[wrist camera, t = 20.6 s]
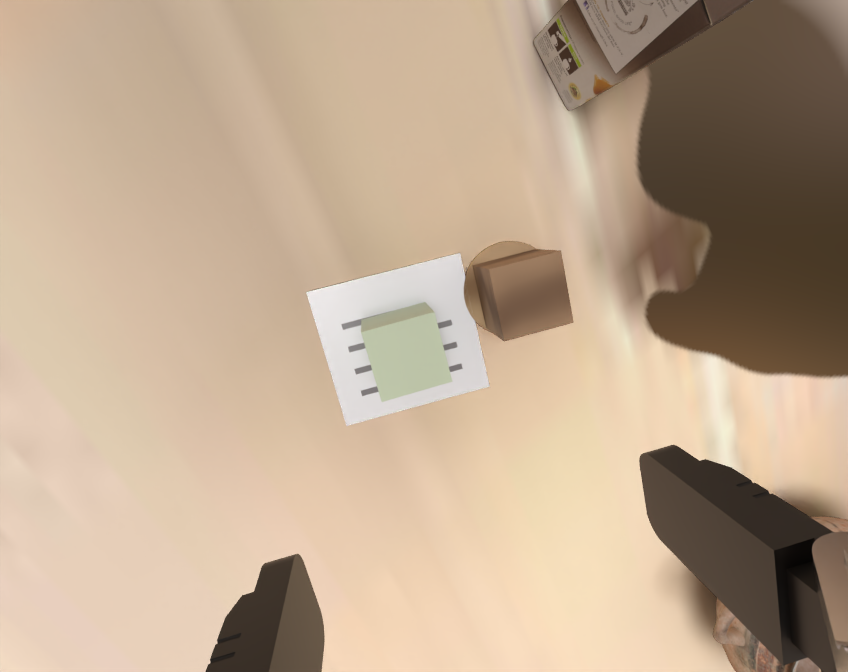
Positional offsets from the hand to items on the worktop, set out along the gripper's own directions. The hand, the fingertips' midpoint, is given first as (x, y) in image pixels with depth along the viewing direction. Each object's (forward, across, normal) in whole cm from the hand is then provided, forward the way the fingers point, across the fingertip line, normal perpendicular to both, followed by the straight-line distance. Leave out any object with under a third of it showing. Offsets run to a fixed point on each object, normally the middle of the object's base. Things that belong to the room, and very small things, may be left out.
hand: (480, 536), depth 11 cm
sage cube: (+30, 0, +2) cm, 30 cm away
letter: (+30, 0, +2) cm, 30 cm away
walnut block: (+30, -10, 0) cm, 31 cm away
